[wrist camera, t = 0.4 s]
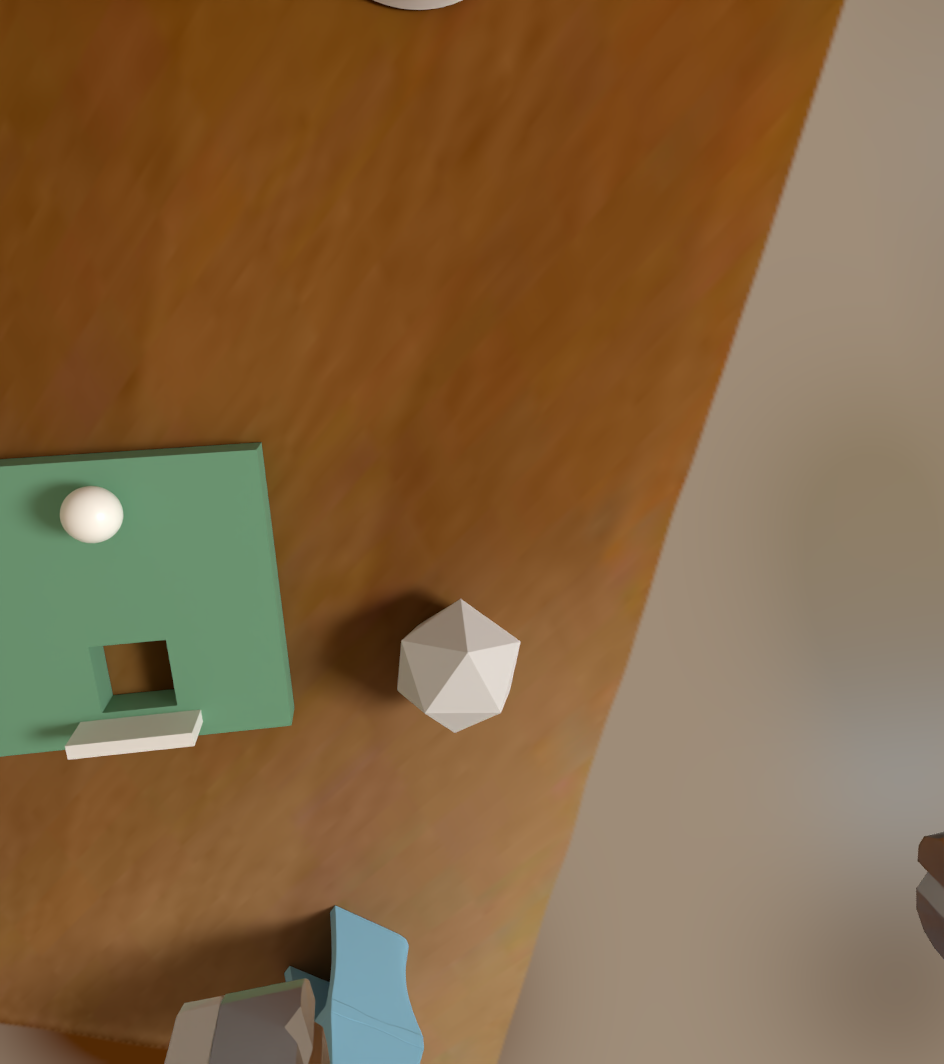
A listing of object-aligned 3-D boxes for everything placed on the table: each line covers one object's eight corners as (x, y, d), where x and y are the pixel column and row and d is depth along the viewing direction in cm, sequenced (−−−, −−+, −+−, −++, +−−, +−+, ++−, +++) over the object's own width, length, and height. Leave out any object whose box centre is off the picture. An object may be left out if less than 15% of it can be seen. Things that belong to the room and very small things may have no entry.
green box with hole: (-60, 463, 50) (-109, 483, 44) (261, 442, 52) (250, 459, 47) (9, 737, 56) (-27, 783, 51) (294, 707, 58) (287, 748, 53)
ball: (66, 482, 49) (45, 496, 45) (124, 478, 49) (108, 491, 46) (77, 535, 50) (57, 553, 46) (134, 531, 50) (118, 548, 47)
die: (385, 687, 59) (461, 779, 54) (358, 622, 53) (441, 719, 47) (470, 626, 62) (550, 707, 56) (454, 557, 56) (543, 641, 50)
